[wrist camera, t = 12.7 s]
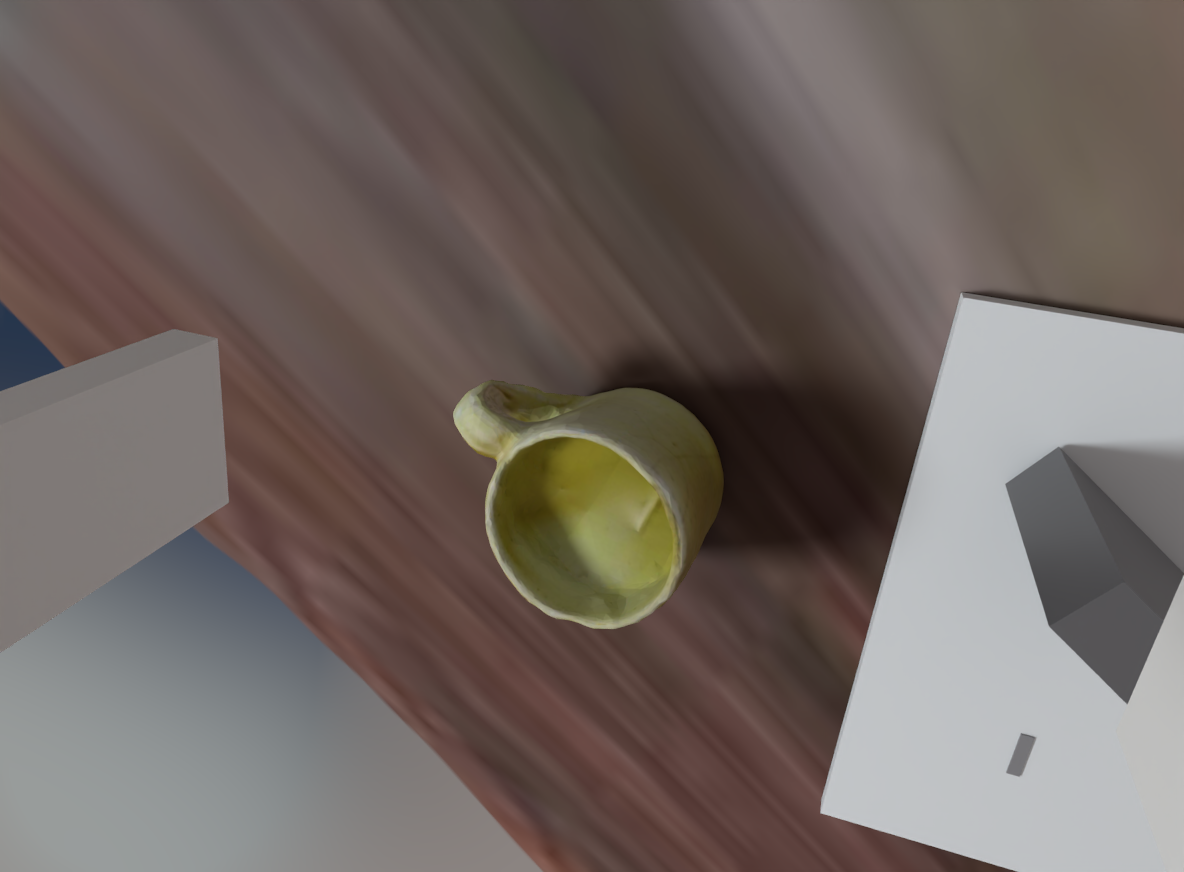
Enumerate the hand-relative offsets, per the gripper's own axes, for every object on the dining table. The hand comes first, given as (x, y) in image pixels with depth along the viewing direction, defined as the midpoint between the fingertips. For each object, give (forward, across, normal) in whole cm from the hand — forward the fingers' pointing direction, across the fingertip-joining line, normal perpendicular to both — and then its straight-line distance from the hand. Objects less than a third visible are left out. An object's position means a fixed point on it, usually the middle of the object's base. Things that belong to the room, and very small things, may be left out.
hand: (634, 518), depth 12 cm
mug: (+29, -7, -12) cm, 32 cm away
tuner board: (+29, +18, -16) cm, 37 cm away
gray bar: (+27, +19, -14) cm, 36 cm away
